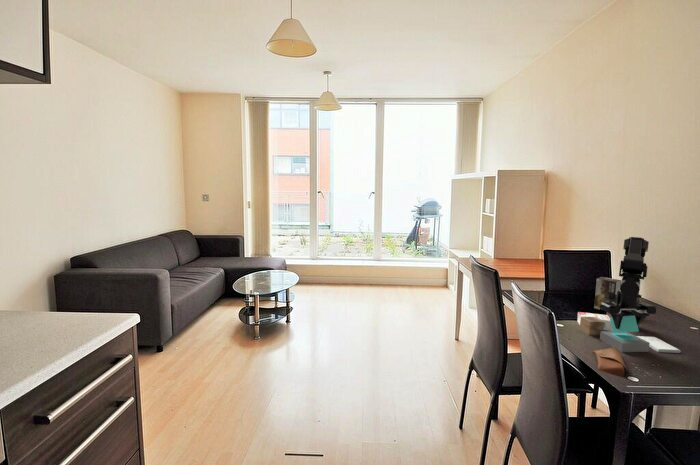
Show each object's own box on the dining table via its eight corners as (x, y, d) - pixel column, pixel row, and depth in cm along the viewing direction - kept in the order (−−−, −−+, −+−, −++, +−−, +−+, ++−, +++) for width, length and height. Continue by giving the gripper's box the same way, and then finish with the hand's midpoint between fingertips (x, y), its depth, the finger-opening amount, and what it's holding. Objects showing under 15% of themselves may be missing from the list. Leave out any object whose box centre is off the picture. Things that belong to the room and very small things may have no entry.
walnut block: (592, 329, 160) (594, 316, 159) (602, 335, 154) (604, 321, 153) (579, 329, 160) (580, 316, 159) (588, 335, 154) (590, 321, 153)
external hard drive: (657, 353, 139) (634, 339, 151) (680, 354, 139) (655, 340, 151) (658, 349, 139) (635, 335, 151) (680, 350, 138) (655, 336, 151)
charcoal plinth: (624, 340, 150) (625, 330, 149) (648, 352, 139) (649, 342, 139) (599, 340, 149) (600, 331, 149) (621, 353, 138) (622, 342, 138)
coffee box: (618, 310, 186) (622, 280, 184) (613, 313, 182) (617, 281, 180) (598, 305, 193) (602, 276, 191) (593, 308, 189) (596, 277, 187)
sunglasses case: (590, 349, 139) (602, 337, 137) (608, 362, 137) (621, 350, 135) (597, 370, 123) (611, 357, 121) (618, 385, 121) (632, 371, 119)
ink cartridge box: (577, 311, 169) (615, 315, 164) (576, 321, 170) (614, 326, 165) (582, 317, 161) (621, 321, 156) (581, 327, 162) (620, 332, 157)
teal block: (628, 331, 146) (624, 316, 147) (639, 331, 140) (634, 315, 142) (613, 332, 146) (609, 317, 148) (622, 332, 140) (618, 316, 142)
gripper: (636, 285, 150) (631, 321, 152) (592, 284, 149) (588, 321, 151) (660, 293, 138) (654, 332, 140) (612, 292, 138) (607, 331, 140)
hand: (625, 328), depth 143 cm, fingers closed on teal block, 6 cm apart
